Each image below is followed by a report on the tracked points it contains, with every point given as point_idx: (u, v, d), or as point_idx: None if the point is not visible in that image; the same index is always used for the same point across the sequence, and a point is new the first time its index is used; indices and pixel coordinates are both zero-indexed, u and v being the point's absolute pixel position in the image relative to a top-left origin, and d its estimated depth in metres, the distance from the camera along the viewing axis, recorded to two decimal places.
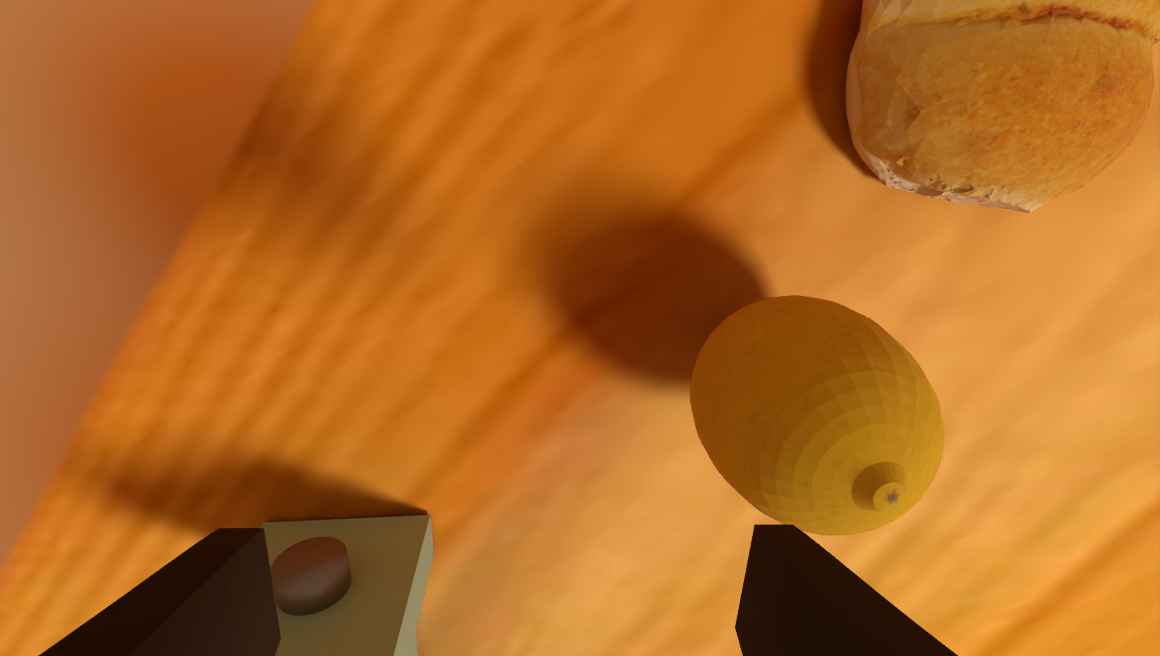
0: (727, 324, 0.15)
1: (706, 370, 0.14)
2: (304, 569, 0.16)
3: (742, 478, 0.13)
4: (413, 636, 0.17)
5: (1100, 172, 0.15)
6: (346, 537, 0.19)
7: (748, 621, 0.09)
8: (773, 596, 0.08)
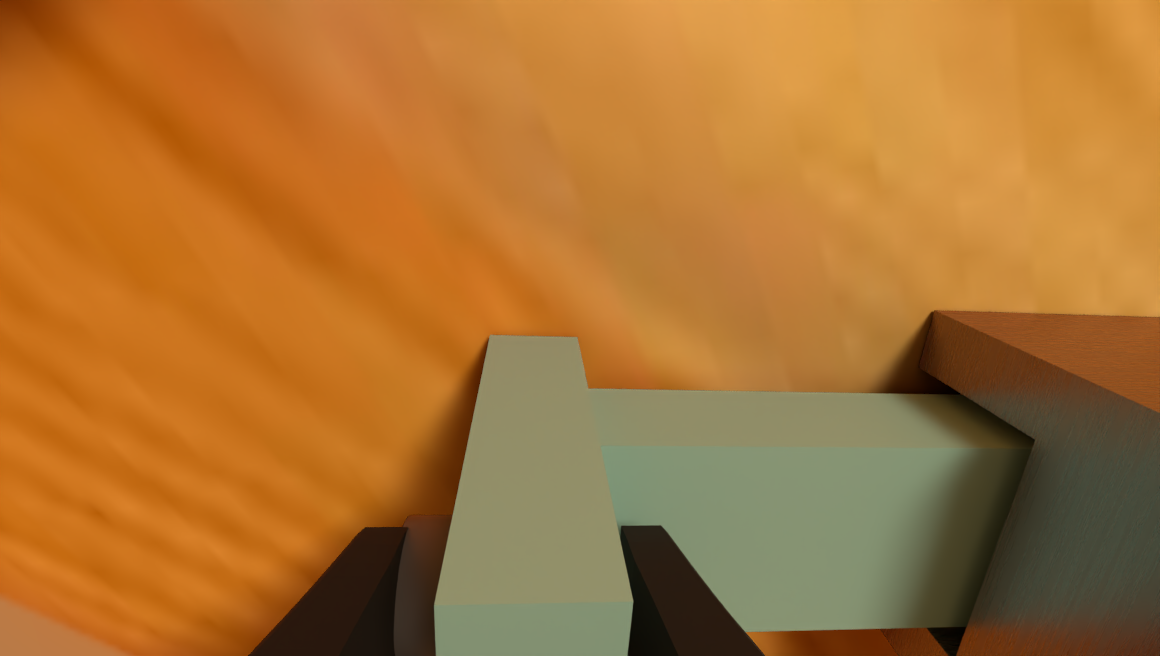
0: None
1: None
2: None
3: None
4: (589, 440, 0.07)
5: None
6: None
7: None
8: None
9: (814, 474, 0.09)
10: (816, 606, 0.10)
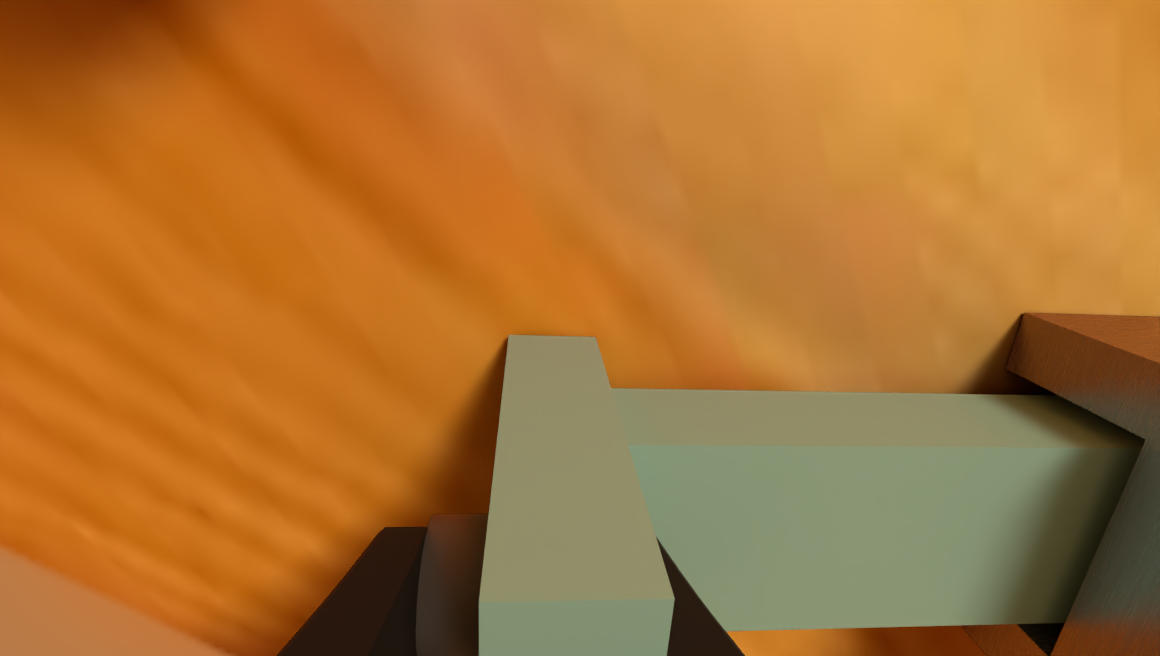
0: None
1: None
2: None
3: None
4: (617, 439, 0.07)
5: None
6: None
7: None
8: None
9: (834, 472, 0.09)
10: (833, 604, 0.10)
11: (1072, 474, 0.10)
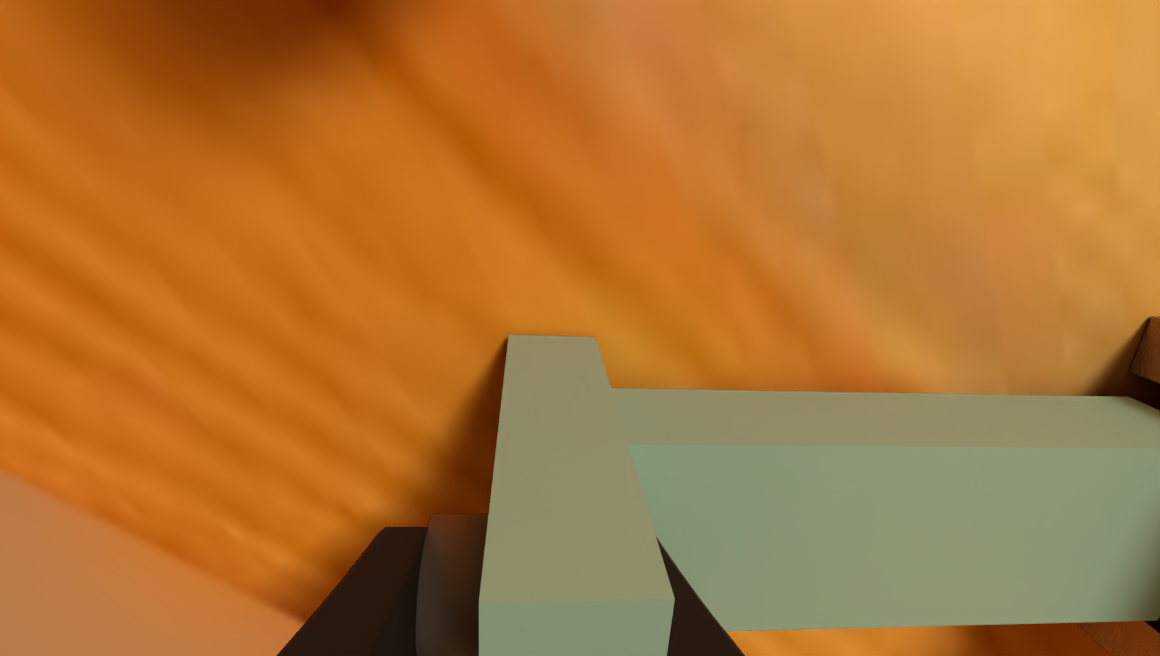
0: None
1: None
2: None
3: None
4: (617, 439, 0.07)
5: None
6: None
7: None
8: None
9: (833, 473, 0.09)
10: (833, 604, 0.10)
11: (1073, 474, 0.10)
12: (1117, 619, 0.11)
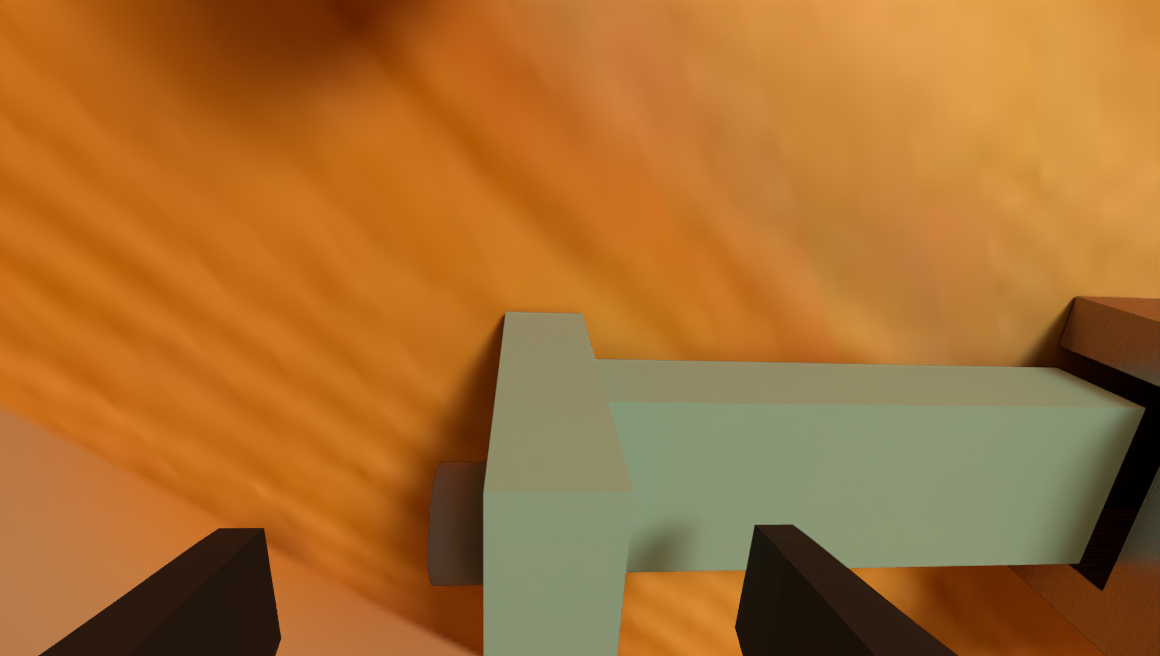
0: None
1: None
2: None
3: None
4: (596, 389, 0.08)
5: None
6: None
7: (748, 621, 0.09)
8: (773, 596, 0.08)
9: (787, 427, 0.11)
10: None
11: (996, 430, 0.11)
12: (1042, 562, 0.12)
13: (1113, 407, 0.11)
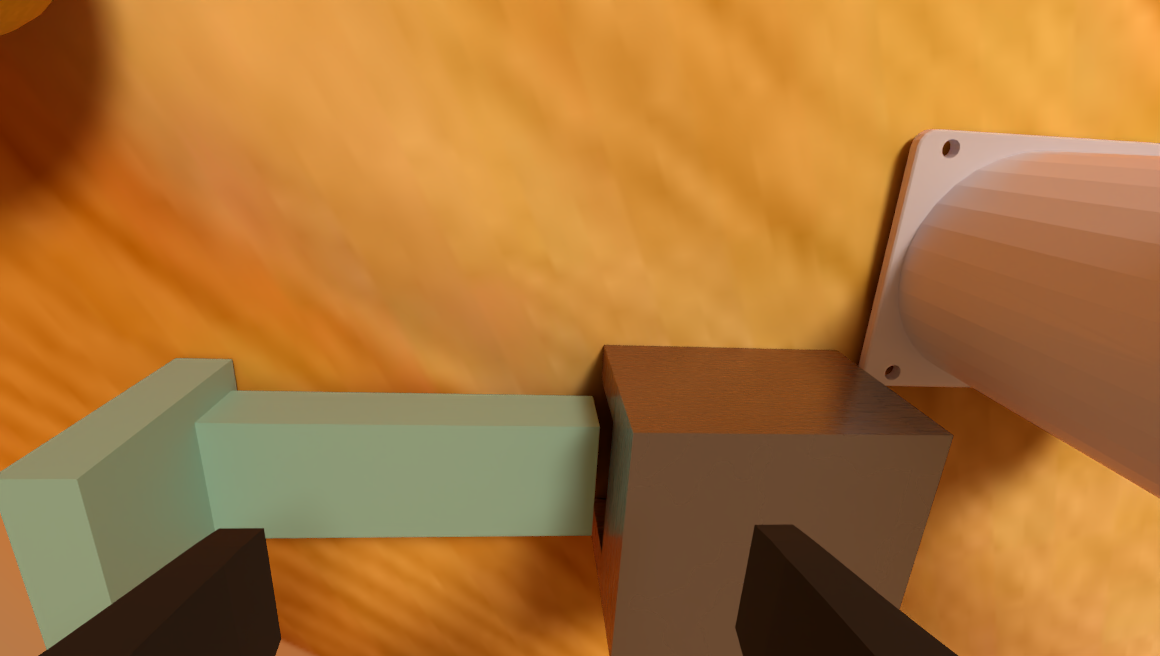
0: None
1: None
2: None
3: None
4: (151, 417, 0.14)
5: None
6: None
7: (748, 621, 0.09)
8: (773, 596, 0.08)
9: (339, 440, 0.16)
10: (368, 522, 0.17)
11: (493, 442, 0.16)
12: (563, 534, 0.17)
13: (575, 426, 0.16)
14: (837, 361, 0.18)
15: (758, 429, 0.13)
